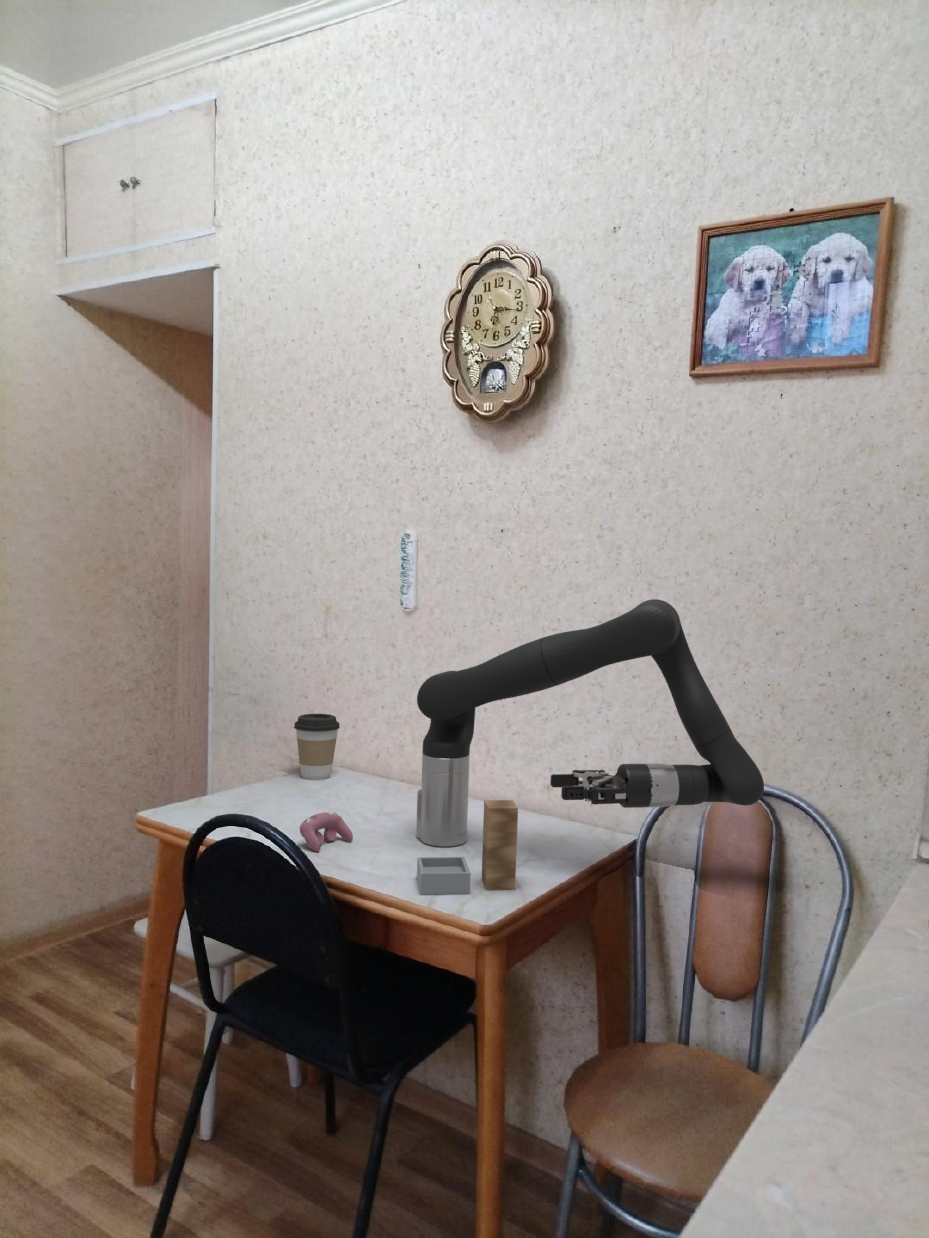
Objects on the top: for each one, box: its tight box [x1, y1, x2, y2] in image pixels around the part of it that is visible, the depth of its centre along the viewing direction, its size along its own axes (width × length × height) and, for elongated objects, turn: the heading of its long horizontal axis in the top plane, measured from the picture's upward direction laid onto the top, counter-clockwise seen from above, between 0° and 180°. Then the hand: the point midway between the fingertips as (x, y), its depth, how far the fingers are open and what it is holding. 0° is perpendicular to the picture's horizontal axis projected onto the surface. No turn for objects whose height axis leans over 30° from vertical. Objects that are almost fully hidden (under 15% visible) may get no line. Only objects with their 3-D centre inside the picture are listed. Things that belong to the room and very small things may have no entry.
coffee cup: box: [293, 713, 341, 781], centre depth 224 cm, size 11×11×15 cm
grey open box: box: [416, 856, 471, 896], centre depth 153 cm, size 8×8×4 cm
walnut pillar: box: [481, 799, 519, 891], centre depth 154 cm, size 5×5×14 cm
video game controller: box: [299, 811, 354, 853], centre depth 173 cm, size 10×5×7 cm, turn 141°
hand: (556, 786), depth 155 cm, fingers open, 8 cm apart
